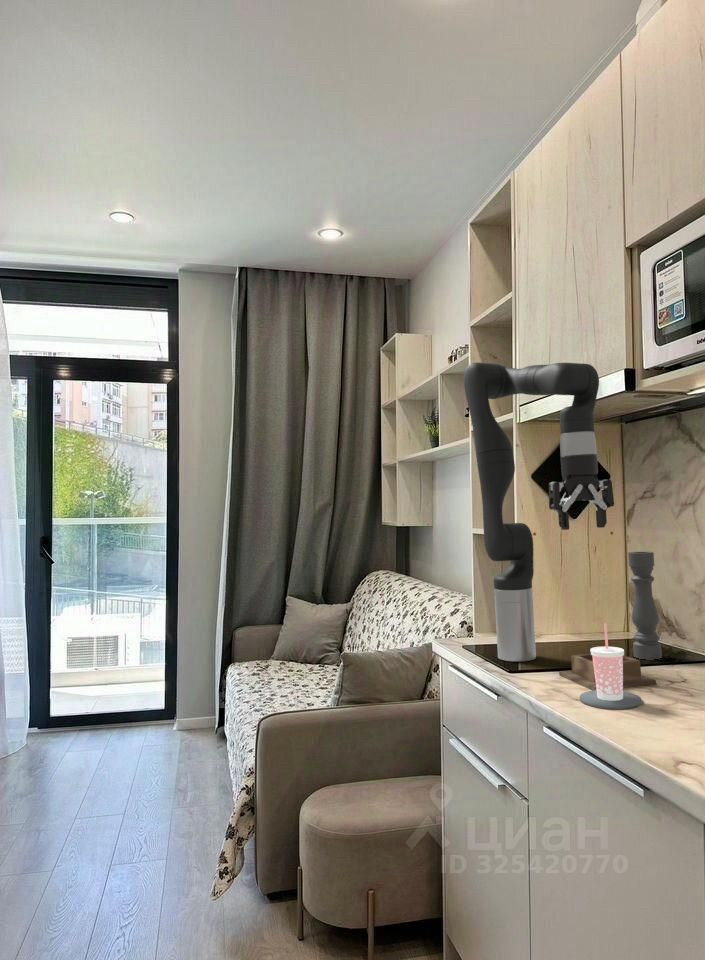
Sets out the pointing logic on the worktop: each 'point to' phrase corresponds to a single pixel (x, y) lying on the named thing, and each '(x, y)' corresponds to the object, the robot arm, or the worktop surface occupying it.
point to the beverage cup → (608, 670)
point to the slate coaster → (625, 703)
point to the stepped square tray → (586, 676)
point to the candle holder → (644, 607)
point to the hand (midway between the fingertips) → (583, 528)
